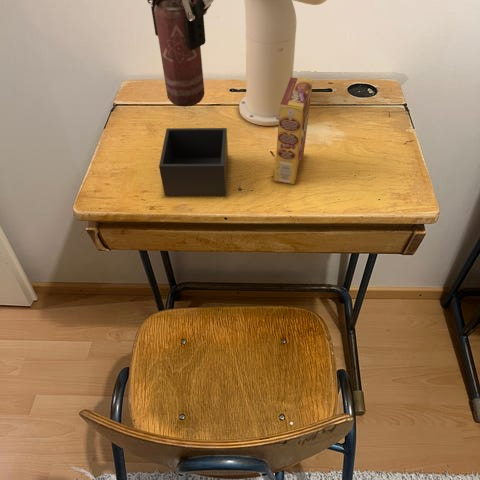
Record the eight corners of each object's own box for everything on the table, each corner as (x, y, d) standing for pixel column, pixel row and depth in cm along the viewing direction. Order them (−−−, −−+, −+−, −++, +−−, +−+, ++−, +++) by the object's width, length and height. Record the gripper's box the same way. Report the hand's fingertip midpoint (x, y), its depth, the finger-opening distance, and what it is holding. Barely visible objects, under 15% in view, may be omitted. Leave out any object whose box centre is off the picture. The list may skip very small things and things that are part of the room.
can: (213, 96, 76) (206, -1, 65) (184, 112, 74) (171, 14, 62) (189, 83, 79) (178, -13, 67) (160, 97, 76) (144, 1, 65)
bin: (171, 158, 91) (166, 128, 86) (228, 158, 91) (226, 127, 86) (164, 196, 85) (158, 166, 80) (225, 196, 85) (223, 165, 79)
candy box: (296, 185, 86) (303, 107, 73) (273, 182, 87) (277, 104, 74) (305, 156, 91) (313, 78, 78) (283, 153, 91) (288, 75, 79)
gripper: (236, -120, 53) (240, 48, 67) (136, -141, 59) (159, 15, 74) (189, -104, 49) (204, 68, 64) (90, -129, 56) (123, 32, 71)
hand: (180, 38), depth 69 cm, fingers closed on can, 6 cm apart
